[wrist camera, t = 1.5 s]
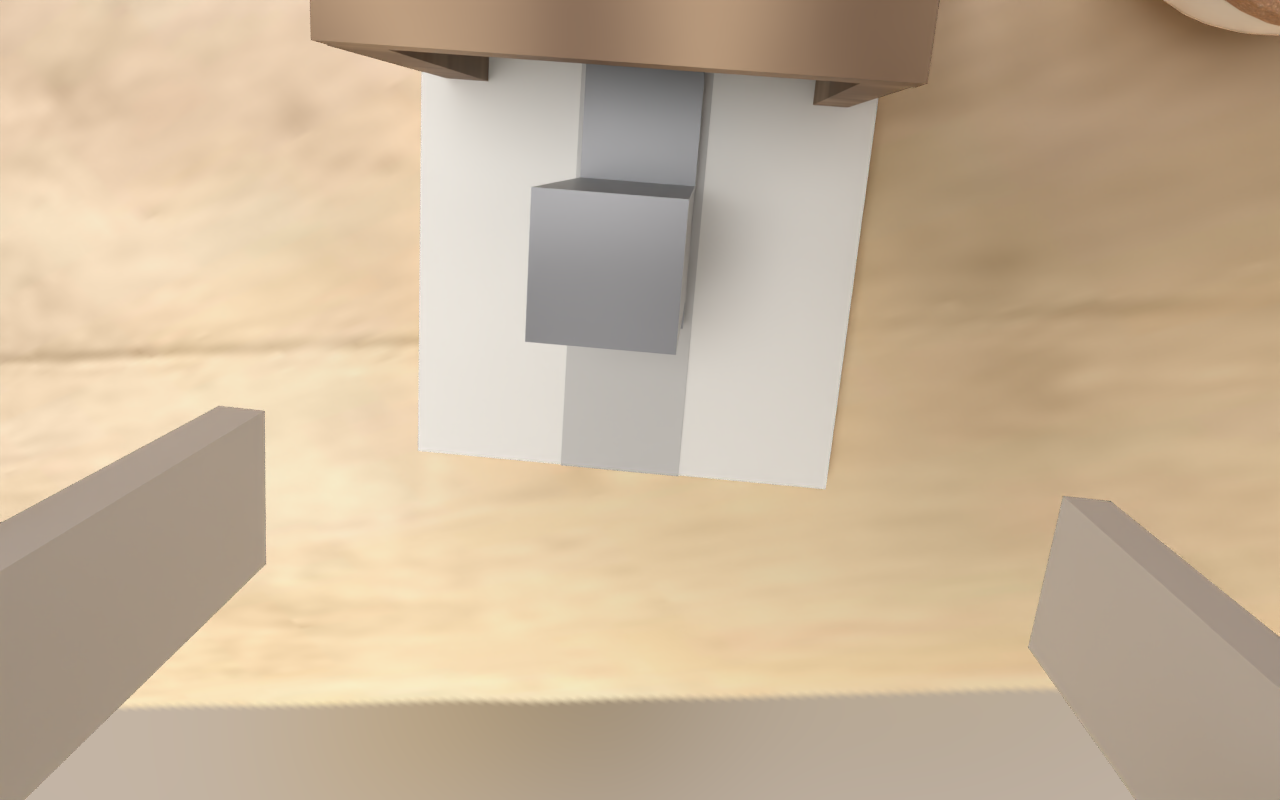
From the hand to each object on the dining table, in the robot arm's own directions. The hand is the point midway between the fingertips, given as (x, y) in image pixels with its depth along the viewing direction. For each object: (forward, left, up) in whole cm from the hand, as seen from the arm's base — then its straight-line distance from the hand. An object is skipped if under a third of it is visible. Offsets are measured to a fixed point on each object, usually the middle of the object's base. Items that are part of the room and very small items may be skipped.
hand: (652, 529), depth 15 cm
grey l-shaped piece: (+2, -9, -20) cm, 22 cm away
